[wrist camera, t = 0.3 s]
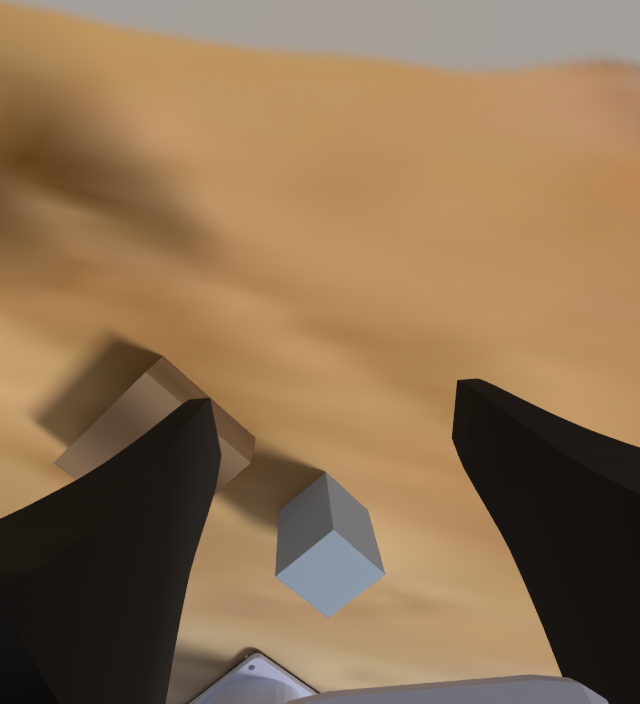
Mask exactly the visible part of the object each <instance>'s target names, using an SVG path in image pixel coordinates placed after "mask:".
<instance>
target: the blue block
mask: <svg viewBox="0 0 640 704" xmlns="http://www.w3.org/2000/svg"><path fill="white" fill-rule="evenodd" d="M384 575H385V572H384V568H383V564H382V561H381V557H380V553H379V549H378V546H377V542H376V538H375V534H374V531H373V527H372V523H371V519H370V516H369V512H368V510H367V509H366V508H365V507H364V506H363V505H362V504H361V503H359V502H358V501H357V500H356V499H355V498H354V497H353V496H352V495H351V494H350V493H348V492H347V491H346V490H345V489H344V488H343V487H342V486H341V485H340V484H339V483H338V482H336V481H335V480H334V479H333V478H332V477H331V476H330V475H329V474H328V473H327V472H325V473H324V474H323V475H321V476H320V477H319V478H318V479H317V480H315V481H314V482H313V483H312V484H311V485H309V486H308V487H307V488H306V489H305V490H303V491H302V492H301V493H300V494H299V495H298V496H296V497H295V498H294V499H293V500H292V501H290V502H289V503H288V504H287V505H286V506H284V507H283V508H282V509H281V510H280V511H279V518H278V536H277V554H276V572H275V577H276V578H277V579H279V580H280V581H281V582H283V583H284V584H285V585H286V586H288V587H289V588H290V589H292V590H293V591H294V592H295V593H297V594H298V595H299V596H301V597H302V598H303V599H304V600H306V601H307V602H308V603H310V604H311V605H312V606H313V607H315V608H316V609H317V610H319V611H320V612H321V613H322V614H324V615H325V616H326V617H328V618H329V617H330V616H332V615H333V614H334V613H336V612H337V611H338V610H340V609H341V608H342V607H343V606H345V605H346V604H347V603H349V602H350V601H351V600H353V599H354V598H355V597H357V596H358V595H359V594H360V593H362V592H363V591H364V590H366V589H367V588H368V587H370V586H371V585H372V584H374V583H375V582H376V581H377V580H379V579H380V578H381V577H383V576H384Z"/></svg>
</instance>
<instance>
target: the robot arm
mask: <svg viewBox="0 0 640 704" xmlns="http://www.w3.org/2000/svg"><path fill="white" fill-rule="evenodd" d="M452 440H453V442H454V445H455V448H456V450H457V453H458V456H459V458H460V460H461V463H462V465H463V468H464V469H465V471H466V473H467V475H468V477H469V478H470V480H471V482H472V484H473V485H474V487H475V489H476V491H477V492H478V494H479V496H480V498H481V499H482V501H483V503H484V505H485V506H486V508H487V510H488V511H489V513H490V515H491V517H492V518H493V520H494V522H495V524H496V525H497V527H498V529H499V531H500V532H501V534H502V536H503V538H504V540H505V542H506V544H507V545H508V547H509V549H510V551H511V554H512V556H513V558H514V560H515V563H516V565H517V567H518V569H519V572H520V574H521V576H522V578H523V580H524V583H525V585H526V587H527V590H528V592H529V594H530V597H531V599H532V602H533V604H534V606H535V609H536V611H537V613H538V616H539V618H540V621H541V623H542V625H543V628H544V630H545V633H546V636H547V638H548V641H549V643H550V646H551V648H552V651H553V653H554V656H555V659H556V661H557V664H558V666H559V669H560V671H561V674H562V677H554V676H541V675H519V676H507V677H495V678H483V679H471V680H459V681H447V682H435V683H423V684H411V685H399V686H387V687H375V688H363V689H351V690H338V691H328V692H324V693H320V694H318V693H316V692H315V691H313V690H312V689H310V688H309V687H308V686H306V685H305V684H303V683H302V682H300V681H299V680H298V679H296V678H295V677H293V676H292V675H290V674H289V673H288V672H286V671H285V670H283V669H282V668H280V667H279V666H278V665H276V664H275V663H273V662H272V661H270V660H269V659H268V658H266V657H265V656H263V655H262V654H260V653H254V654H252V655H251V656H250V657H248V658H247V659H246V660H245V661H243V662H242V663H241V664H239V665H238V666H237V667H236V668H234V669H233V670H232V671H230V672H229V673H228V674H226V675H225V676H224V677H223V678H221V679H220V680H219V681H217V682H216V683H215V684H214V685H212V686H211V687H210V688H208V689H207V690H206V691H205V692H203V693H202V694H201V695H199V696H198V697H197V698H196V699H194V700H193V701H192V702H190V703H189V704H640V447H637V446H633V445H630V444H627V443H624V442H621V441H619V440H616V439H613V438H610V437H608V436H605V435H602V434H599V433H597V432H594V431H591V430H589V429H586V428H584V427H581V426H579V425H577V424H574V423H572V422H570V421H568V420H565V419H563V418H561V417H558V416H556V415H554V414H552V413H550V412H547V411H545V410H543V409H541V408H539V407H537V406H535V405H533V404H531V403H529V402H527V401H525V400H523V399H521V398H519V397H517V396H515V395H513V394H511V393H509V392H507V391H505V390H503V389H501V388H499V387H497V386H495V385H492V384H490V383H488V382H486V381H483V380H481V379H466V380H457V389H456V400H455V410H454V421H453V431H452ZM221 456H222V455H221V450H220V444H219V439H218V434H217V429H216V424H215V419H214V414H213V409H212V404H211V399H210V398H200V399H189V400H187V401H186V402H184V403H183V404H182V405H180V406H179V407H178V408H176V409H175V410H174V411H173V412H171V413H170V414H169V415H168V416H166V417H165V418H164V419H163V420H161V421H160V422H159V423H158V424H156V425H155V426H154V427H153V428H151V429H150V430H149V431H148V432H146V433H145V434H144V435H142V436H141V437H140V438H138V439H137V440H136V441H134V442H133V443H131V444H130V445H129V446H127V447H126V448H125V449H123V450H122V451H120V452H119V453H118V454H116V455H115V456H114V457H112V458H111V459H109V460H108V461H106V462H105V463H103V464H102V465H100V466H98V467H97V468H95V469H94V470H92V471H90V472H89V473H87V474H85V475H84V476H82V477H80V478H79V479H77V480H76V481H74V482H72V483H70V484H68V485H67V486H65V487H63V488H61V489H59V490H57V491H55V492H53V493H51V494H50V495H48V496H46V497H44V498H42V499H40V500H38V501H36V502H34V503H32V504H30V505H29V506H27V507H24V508H22V509H20V510H18V511H16V512H14V513H12V514H10V515H7V516H5V517H3V518H1V519H0V704H165V703H166V697H167V691H168V685H169V679H170V673H171V667H172V661H173V656H174V650H175V645H176V640H177V634H178V629H179V624H180V618H181V613H182V608H183V603H184V598H185V594H186V589H187V584H188V579H189V574H190V571H191V567H192V563H193V560H194V556H195V553H196V550H197V547H198V544H199V540H200V537H201V534H202V531H203V528H204V525H205V521H206V518H207V515H208V512H209V509H210V506H211V502H212V499H213V496H214V492H215V489H216V486H217V480H218V475H219V469H220V462H221Z"/></svg>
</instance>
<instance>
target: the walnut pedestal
mask: <svg viewBox="0 0 640 704" xmlns="http://www.w3.org/2000/svg"><path fill="white" fill-rule="evenodd" d="M200 398H210V397H209V396H208V395H206V394H205V393H204V392H203V391H202V390H201V389H200V388H199V387H197V386H196V385H195V384H194V383H193V382H192V381H191V380H190V379H188V378H187V377H186V376H185V375H184V374H183V373H182V372H181V371H179V370H178V369H177V368H176V367H175V366H174V365H173V364H172V363H170V362H169V361H168V360H167V359H166V358H165V357H164V356H163V357H161V358H160V359H159V360H158V361H157V362H156V363H155V364H154V365H153V366H152V367H151V368H150V369H148V370H147V371H146V372H145V373H144V374H143V375H142V376H141V377H140V378H139V379H138V380H137V381H136V382H135V383H134V384H133V385H132V386H131V387H130V388H129V389H128V390H127V391H126V392H125V393H124V394H123V395H122V396H121V397H120V398H119V399H118V400H117V401H116V402H115V403H114V404H113V405H112V406H111V407H110V408H109V409H108V410H107V411H106V412H105V413H104V414H103V415H102V416H100V417H99V418H98V419H97V420H96V421H95V422H94V423H93V424H92V425H91V426H90V427H89V428H88V429H87V430H86V431H85V432H84V433H83V434H82V435H81V436H80V437H79V438H78V439H77V440H76V441H75V442H74V443H73V444H72V445H71V446H70V447H69V448H68V449H67V450H66V451H65V452H64V453H63V454H62V455H61V456H60V457H59V458H58V459H57V460H56V461H55V462H54V464H56V465H57V466H58V467H60V468H61V469H62V470H64V471H65V472H67V473H68V474H69V475H71V476H72V477H73V478H75V479H76V480H77V479H79V478H80V477H82V476H84V475H85V474H87V473H89V472H90V471H92V470H94V469H95V468H97V467H98V466H100V465H102V464H103V463H105V462H106V461H108V460H109V459H111V458H112V457H114V456H115V455H116V454H118V453H119V452H120V451H122V450H123V449H125V448H126V447H127V446H129V445H130V444H131V443H133V442H134V441H136V440H137V439H138V438H140V437H141V436H142V435H144V434H145V433H146V432H148V431H149V430H150V429H151V428H153V427H154V426H155V425H156V424H158V423H159V422H160V421H161V420H163V419H164V418H165V417H166V416H168V415H169V414H170V413H171V412H173V411H174V410H175V409H176V408H178V407H179V406H180V405H182V404H183V403H184V402H186V401H187V400H189V399H200ZM210 399H211V398H210ZM211 404H212V409H213V414H214V419H215V424H216V429H217V434H218V439H219V444H220V450H221V455H222V456H221V462H220V469H219V475H218V480H217V486H216V489H215V492H214V495H215V494H216V493H217V492H218V491H219V490H221V489H222V488H223V487H224V486H225V485H226V484H227V483H229V482H230V481H231V480H232V479H233V478H234V477H235V476H236V475H238V474H239V473H240V472H241V471H242V470H243V469H244V468H246V467H247V466H248V465H249V464H250V463H251V459H252V454H253V449H254V444H255V437H254V436H253V435H252V434H250V433H249V432H248V431H247V430H246V429H245V428H244V427H243V426H241V425H240V424H239V423H238V422H237V421H236V420H235V419H234V418H232V417H231V416H230V415H229V414H228V413H227V412H226V411H225V410H223V409H222V408H221V407H220V406H219V405H218V404H217V403H216V402H214V401H213V400H212V399H211Z"/></svg>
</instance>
